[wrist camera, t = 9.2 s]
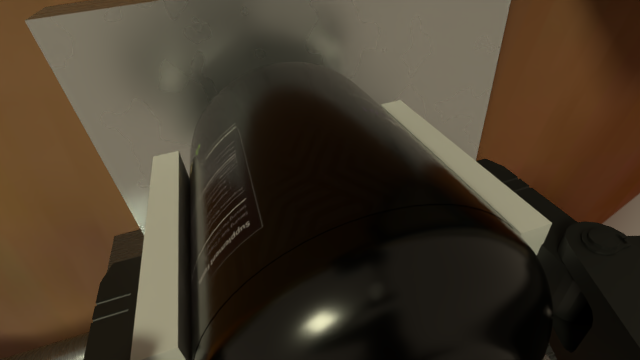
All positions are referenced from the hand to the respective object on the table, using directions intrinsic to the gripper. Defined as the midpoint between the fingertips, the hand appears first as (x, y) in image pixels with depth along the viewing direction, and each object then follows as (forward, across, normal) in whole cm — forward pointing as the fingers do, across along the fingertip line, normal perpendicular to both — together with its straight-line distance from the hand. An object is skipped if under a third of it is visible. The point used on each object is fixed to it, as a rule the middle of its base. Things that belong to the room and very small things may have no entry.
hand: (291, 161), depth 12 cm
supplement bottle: (+1, 0, 0) cm, 1 cm away
